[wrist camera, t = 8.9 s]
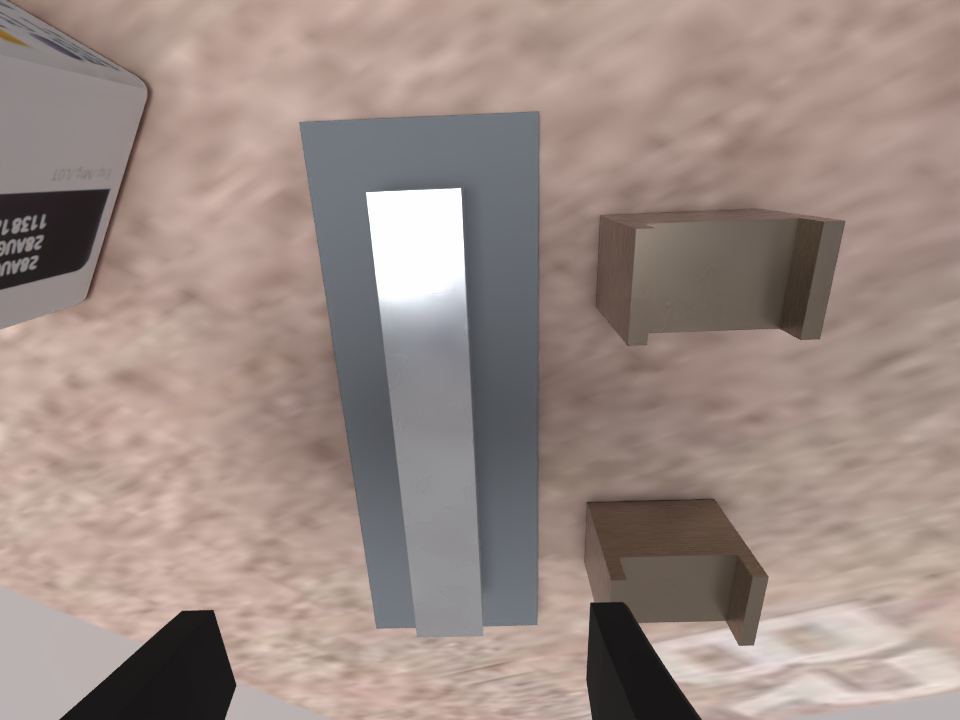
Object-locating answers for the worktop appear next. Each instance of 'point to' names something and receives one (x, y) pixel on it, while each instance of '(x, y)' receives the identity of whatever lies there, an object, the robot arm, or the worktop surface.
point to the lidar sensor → (57, 162)
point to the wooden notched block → (716, 272)
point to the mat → (494, 333)
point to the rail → (432, 398)
